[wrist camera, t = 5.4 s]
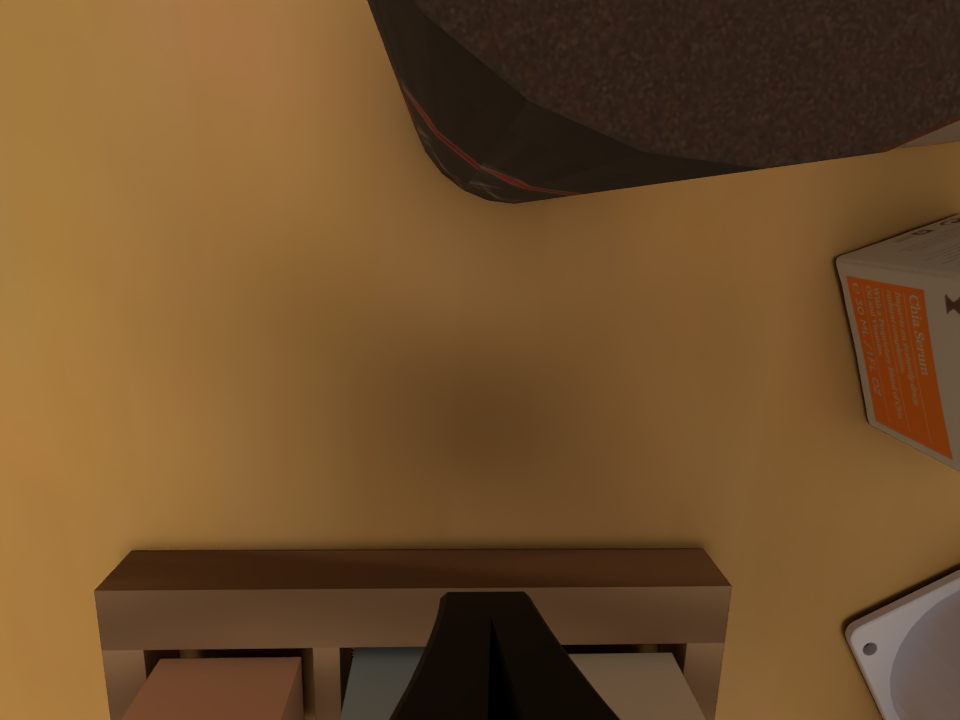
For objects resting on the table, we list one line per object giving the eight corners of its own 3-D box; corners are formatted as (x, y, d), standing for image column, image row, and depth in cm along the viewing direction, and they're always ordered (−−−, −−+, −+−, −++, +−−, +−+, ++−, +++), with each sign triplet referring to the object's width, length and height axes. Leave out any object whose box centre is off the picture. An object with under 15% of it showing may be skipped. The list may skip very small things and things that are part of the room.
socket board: (677, 766, 23) (701, 822, 21) (156, 778, 22) (125, 838, 20) (703, 549, 21) (731, 586, 19) (131, 551, 20) (93, 590, 18)
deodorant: (550, 240, 19) (907, 337, 4) (372, 136, 18) (43, -203, 3) (657, 55, 18) (1617, -666, 3) (474, -66, 17) (652, -1870, 2)
